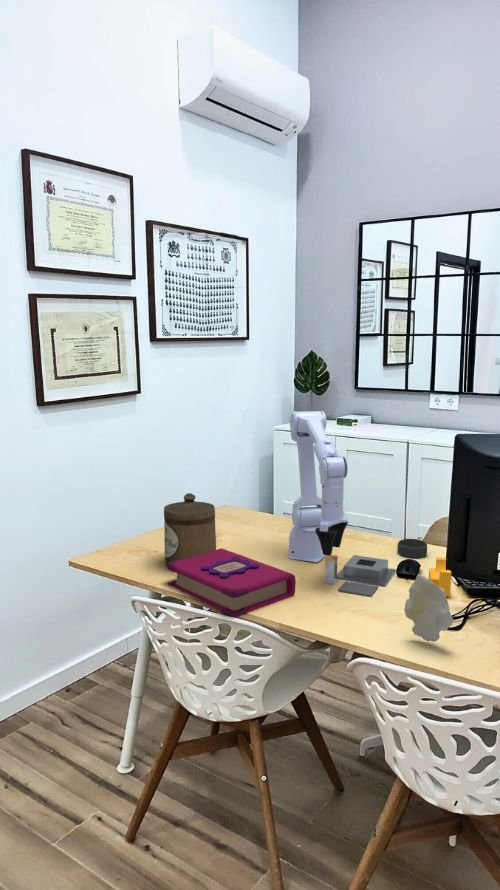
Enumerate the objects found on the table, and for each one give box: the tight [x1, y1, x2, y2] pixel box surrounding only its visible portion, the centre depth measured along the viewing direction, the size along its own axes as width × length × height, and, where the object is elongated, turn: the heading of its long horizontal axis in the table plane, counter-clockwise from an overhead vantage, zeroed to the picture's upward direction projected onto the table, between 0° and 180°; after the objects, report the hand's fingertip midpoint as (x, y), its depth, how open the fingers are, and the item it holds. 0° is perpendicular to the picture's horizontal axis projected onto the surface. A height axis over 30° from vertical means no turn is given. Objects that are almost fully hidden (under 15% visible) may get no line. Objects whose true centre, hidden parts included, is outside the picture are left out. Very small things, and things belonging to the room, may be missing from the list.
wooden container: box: [163, 492, 217, 569], centre depth 186 cm, size 15×15×22 cm
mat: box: [337, 580, 379, 598], centre depth 171 cm, size 9×7×1 cm
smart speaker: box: [397, 538, 428, 559], centre depth 200 cm, size 9×9×4 cm
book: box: [167, 547, 297, 618], centre depth 170 cm, size 21×28×8 cm
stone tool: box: [404, 573, 454, 643], centre depth 141 cm, size 11×4×15 cm, turn 51°
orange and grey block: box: [324, 554, 338, 586], centre depth 176 cm, size 3×3×8 cm
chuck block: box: [337, 554, 397, 587], centre depth 182 cm, size 14×13×4 cm
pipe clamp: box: [428, 556, 452, 598], centre depth 173 cm, size 12×4×6 cm, turn 170°
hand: (331, 550), depth 175 cm, fingers open, 7 cm apart
